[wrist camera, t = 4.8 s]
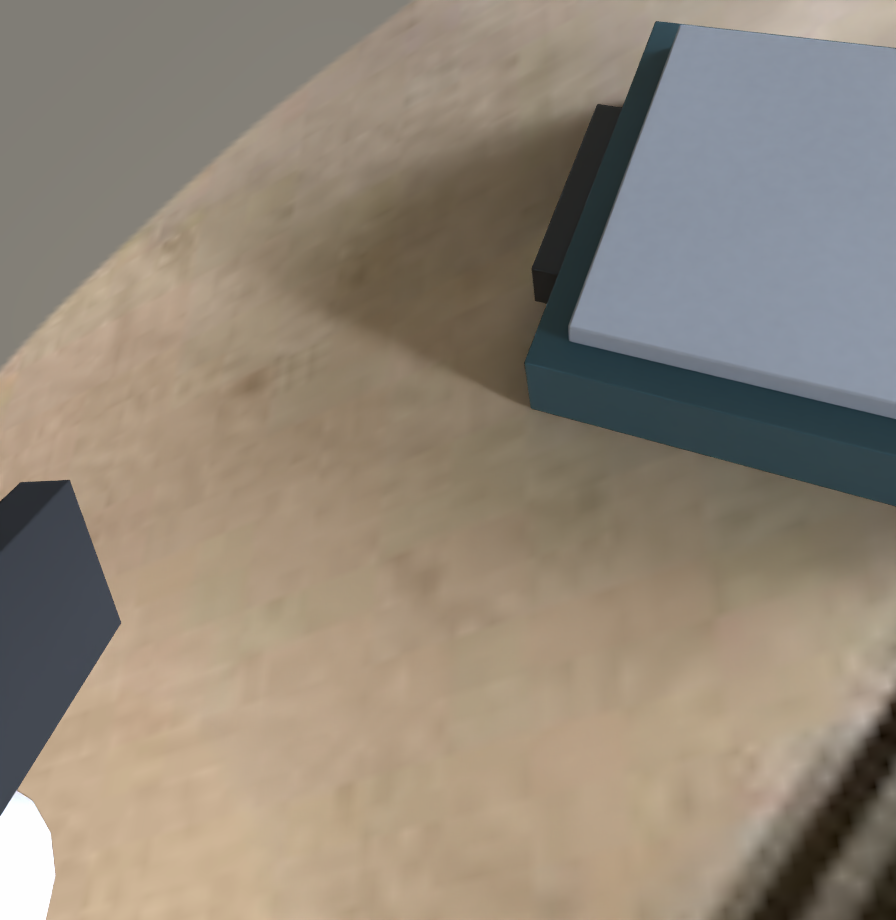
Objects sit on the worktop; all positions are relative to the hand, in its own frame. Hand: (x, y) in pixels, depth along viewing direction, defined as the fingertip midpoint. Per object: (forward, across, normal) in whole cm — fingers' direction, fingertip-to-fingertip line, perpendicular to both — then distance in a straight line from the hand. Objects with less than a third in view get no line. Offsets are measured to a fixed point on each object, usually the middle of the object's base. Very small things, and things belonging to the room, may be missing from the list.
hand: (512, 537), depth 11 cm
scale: (+16, +10, -1) cm, 19 cm away
